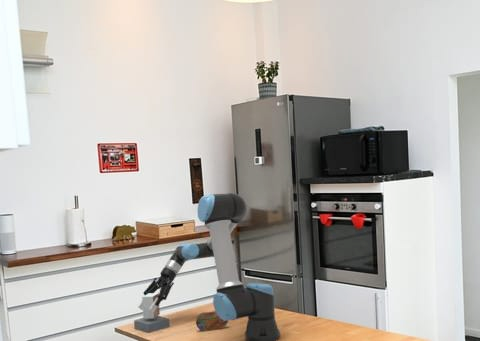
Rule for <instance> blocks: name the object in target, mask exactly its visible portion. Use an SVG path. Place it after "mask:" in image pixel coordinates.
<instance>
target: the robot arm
mask: <svg viewBox="0 0 480 341" xmlns="http://www.w3.org/2000/svg"><path fill="white" fill-rule="evenodd" d="M247 206H248V205H247V203H246V201H245V200H244V198H243V197H242V196H241V195H239V194H238V193H232V192H231V193H214V194H213V193H210V194H206V195H205V194H204V195H203V196H202V197H201V198H200V199H199V201H198V204H197V218H198V219H199V221H200V222H201V223H204V227H205V228H206V229H208V231H209V235H210V236H209V238H208V240H207V241H206V242H200V243H183V242H182V243H179V245H178V246H176V248H175V250H174V251H173V253H172V255H171V256H170V258H169V259H168V261H167V262H166V263H165V265H164V267H163V268H162V270H161V272H160V276H159V278H157V277H155V278H154V279H153V280H152V281H151V283H150V284H149V285H148V287H147V288H145V290H144V292H142V294H143V296H145V295H147V294H148V293H156V291H157V290H159V292H158V293H159V296H157V297H158V298H156V299H155V301H154V303H153V304H152V306H151V307H150V309H149V310H150V311H152V312H153V313H154V311H155V310H156V308H157V307H158V305H159V306H160V304H161V302H162V301H163V300H164V301H166V300H167V298H168V295H169V294H170V292H171V289H172V288H173V286H174V284H175V283H174V280H175V279H176V277H177V275H178V273H179V272H180V270H181V269H182V267H183V265H184V264H185V263H186V262H188V261H190V260H199V259H205V258H206V259H207V258H213V259H214V263H215V269H216V274H217V280H218V286H217V287H216V293H214V295H213V297H212V298H213V300H212V303H213V308H214V311H216V313H217V315H218V316H219V317H220V318H221V319H222V320H226V321H227V320H228V321H234V320H238V319H242V318H247V324H246V327H245V328H246V329H245V332H244V339H245V340H246V341H273V340H275V341H277V340H279V339H280V338H281V332H280V329H279V327H278V325H277V321H276V318H275V317H276V316H275V299H274V296H275V294H274V288H273V286H272V285H271V284H268V283H262V282H249V283H248V282H247V283H246V285H245V287H244V283H243V282H241V281H240V279H239V274H238V269H237V264H236V259H235V252H234V248H233V242H232V237H231V233H233V231H234V229H235V228H236V226H237V225H239V224H240V223H241V222H243V221H244V219H245V217H246V215H247V211H248V208H247ZM137 308H138V309H140V310H141V311H143V302H142V300H141V301H140V303H139V304H138V306H137ZM279 337H280V338H279ZM278 338H279V339H278ZM276 339H277V340H276Z"/></svg>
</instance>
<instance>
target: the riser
mask: <svg viewBox="0 0 480 341" xmlns="http://www.w3.org/2000/svg"><path fill="white" fill-rule="evenodd" d="M133 324H134V329H135V330H137V331H141V332H143V333H147V334H150V333H153V331H154V332H157V331H160V330H163V329H165V328H170V318H169V317H165V316H160V315H158V316H156V317H155V318H147V319H143V317H141V318H139V319H134V320H133Z"/></svg>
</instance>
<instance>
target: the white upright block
mask: <svg viewBox="0 0 480 341" xmlns="http://www.w3.org/2000/svg"><path fill="white" fill-rule="evenodd" d="M159 293H160V292H154V293H148V294H147V295H142V297H141V301H142V302H143V310H142V318H143V319H147V318H155V317H156V316H160V312H161V311H160V304H159V305H158V307H157V308H156V310H155V311H154V313H153V312H152V311H150V310H149V309H150V307H151V306H152V304H153V303H154V301H155V299H156V298H158V297H157V296H159Z"/></svg>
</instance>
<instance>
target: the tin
mask: <svg viewBox="0 0 480 341" xmlns="http://www.w3.org/2000/svg"><path fill="white" fill-rule="evenodd" d="M228 321H229V320H227V321H226V320H222V319H221V318H220V317H219V316H218V315H217V313H216V311H215V310H213V311H204V312H201V313H199V314H198V315H197V317H196V319H195V324H196V328H198V329H199V330H200V331H202V332H209V331H210V332H211V331H216V330H221V329H224V328H225V327H226V326H227V325H228Z"/></svg>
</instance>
